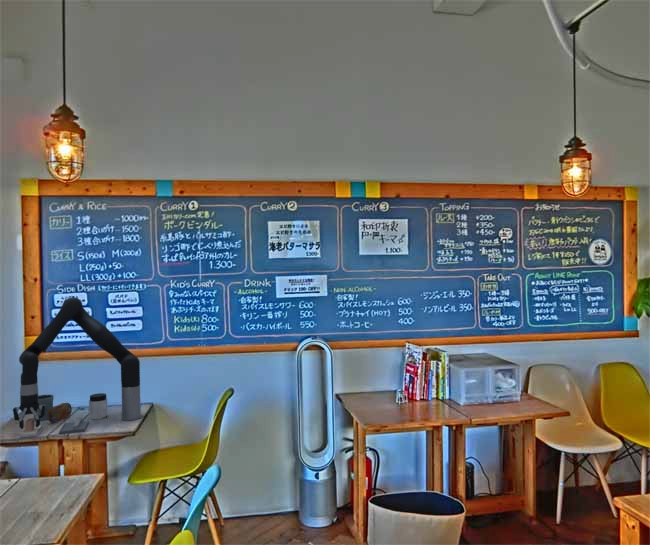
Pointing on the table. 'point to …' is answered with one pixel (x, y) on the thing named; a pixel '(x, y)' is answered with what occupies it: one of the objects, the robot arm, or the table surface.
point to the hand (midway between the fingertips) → (29, 427)
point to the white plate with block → (31, 429)
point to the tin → (59, 412)
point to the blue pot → (47, 401)
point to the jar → (98, 406)
